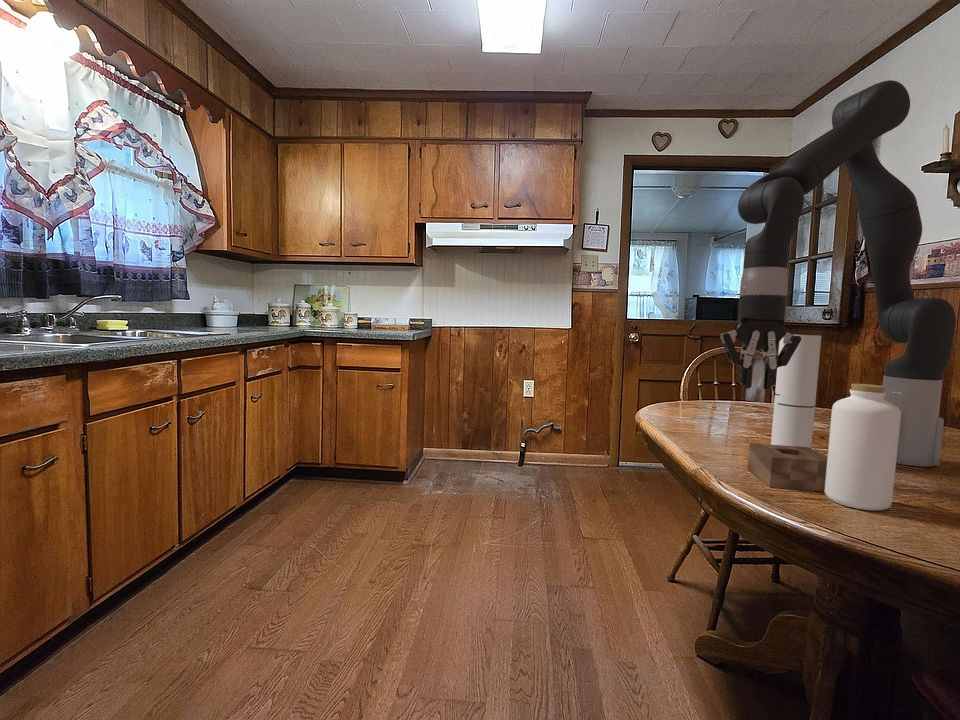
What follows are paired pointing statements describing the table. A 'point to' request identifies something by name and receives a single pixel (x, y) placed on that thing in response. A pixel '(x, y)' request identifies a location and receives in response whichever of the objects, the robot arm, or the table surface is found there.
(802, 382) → the cylindrical container
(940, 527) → the table surface
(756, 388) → the peg
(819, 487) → the walnut block
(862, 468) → the potion bottle
